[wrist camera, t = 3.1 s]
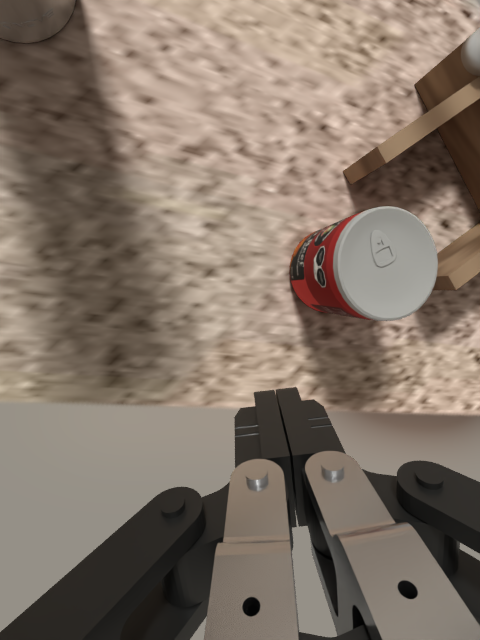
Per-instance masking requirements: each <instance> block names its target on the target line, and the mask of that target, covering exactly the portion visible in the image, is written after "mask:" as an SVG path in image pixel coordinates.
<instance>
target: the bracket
mask: <svg viewBox="0 0 480 640" xmlns="http://www.w3.org/2000/svg"><path fill="white" fill-rule="evenodd" d="M415 87H416V89H417V91H418V93H419V94H420V96H421V98H422V100H423V102H424V104H425V106H426V108H427V110H428V112H427V113H425V114H424V115H423V116H421V117H420V118H418V119H417V120H415V121H414V122H412V123H411V124H410V125H408V126H407V127H405V128H404V129H402V130H401V131H399V132H398V133H396V134H395V135H394V136H392V137H391V138H389V139H388V140H386V141H385V142H383V143H382V144H380V145H379V146H378V147H376V148H375V149H373V150H372V151H371V152H369V153H368V154H366V155H365V156H364V157H362V158H361V159H359V160H358V161H357V162H355V163H354V164H352V165H351V166H350V167H348V168H347V169H345V170H344V171H343V172H344V174H345V176H346V178H347V179H348V181H349V183H350V185H351V184H353V183H355V182H356V181H358V180H359V179H361V178H363V177H364V176H366V175H368V174H369V173H371V172H373V171H374V170H376V169H378V168H379V167H381V166H383V165H384V164H386V163H387V162H389V161H390V160H392V159H393V158H395V157H396V156H397V155H399V154H400V153H402V152H403V151H405V150H406V149H407V148H409V147H410V146H412V145H413V144H415V143H416V142H418V141H419V140H420V139H422V138H423V137H425V136H426V135H428V134H429V133H430V132H432V131H433V130H435V129H436V128H437V129H438V131H439V133H440V135H441V137H442V139H443V141H444V143H445V145H446V147H447V149H448V151H449V153H450V155H451V157H452V159H453V161H454V162H455V164H456V166H457V168H458V170H459V172H460V174H461V176H462V178H463V180H464V182H465V184H466V186H467V188H468V190H469V192H470V194H471V196H472V197H473V199H474V201H475V203H476V205H477V207H478V209H479V211H480V28H479V29H478V30H476V31H475V32H474V33H473V34H472V35H471V36H469V37H468V38H467V39H466V40H465V42H463V43H462V44H461V45H460V46H458V47H457V48H456V49H455V50H454V51H453V52H452V53H450V54H449V55H448V56H447V57H446V58H445V59H443V60H442V61H441V62H440V63H439V64H438V65H437V66H435V67H434V68H433V69H432V70H431V71H430V72H428V73H427V74H426V75H425V76H424V77H423V78H422V79H420V80H419V81H418V82H417V83H416V84H415ZM437 258H438V270H437V277H436V281H435V285H434V287H433V289H432V290H457V289H458V288H460V287H461V286H462V285H464V284H465V283H466V282H468V281H469V280H470V279H472V278H473V277H474V276H475V275H477V274H478V273H479V272H480V223H478V224H477V225H475V226H474V227H473V228H471V229H470V230H469V231H467V232H466V233H465V234H463V235H462V236H461V237H459V238H458V239H457V240H455V241H454V242H453V243H451V244H450V245H448V246H447V247H446V248H444V249H443V250H442V251H440V252H439V253H438V254H437Z"/></svg>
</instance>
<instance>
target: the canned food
mask: <svg viewBox="0 0 480 640" xmlns="http://www.w3.org/2000/svg"><path fill="white" fill-rule="evenodd" d="M437 270H438V258H437V250H436V247H435V243H434V240H433V238H432V236H431V234H430V232H429V230H428V229H427V228H426V226H425V225H424V224H423V222H422V221H420V220H419V219H418V218H417V217H416V216H415V215H413V214H412V213H410V212H408V211H407V210H404V209H401V208H398V207H391V206H383V207H376V208H371V209H369V210H366V211H363V212H361V213H358V214H355V215H353V216H350V217H348V218H346V219H344V220H341V221H339V222H337V223H334V224H332V225H330V226H327V227H325V228H323V229H321V230H318V231H316V232H314V233H311V234H310V235H308V236H307V237H305V238H304V239H303V240H302V241H301V242H300V243H299V244H298V246H297V247H296V249H295V251H294V253H293V255H292V258H291V263H290V279H291V283H292V286H293V289H294V290H295V292H296V294H297V296H298V297H299V298H300V299H301V300H302V302H304V303H305V304H306V305H307V306H309V307H310V308H312V309H314V310H317V311H321V312H326V313H332V314H338V315H344V316H350V317H356V318H362V319H368V320H376V321H393V320H398V319H402V318H404V317H407V316H409V315H411V314H412V313H414V312H415V311H417V310H418V309H419V308H420V307H421V306H422V305H423V304H424V303H425V302H426V300H427V299H428V297H429V296H430V294H431V292H432V289H433V287H434V285H435V281H436V277H437Z"/></svg>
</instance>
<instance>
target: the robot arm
mask: <svg viewBox="0 0 480 640" xmlns="http://www.w3.org/2000/svg"><path fill="white" fill-rule="evenodd" d="M75 2H76V0H0V38H1V39H5V40H8V41H12V42H20V43H30V42H38V41H41V40H44V39H47V38H49V37H51V36H53V35H54V34H56V33H57V32H59V31H60V30H61V29H62V28H63V27H64V25H65V24H66V23H67V22H68V20H69V18H70V16H71V15H72V13H73V10H74V6H75ZM254 397H255V405H256V406H255V407H246V408H240V410H239V411H238V413H237V415H236V416H235V469H234V471H233V472H232V474H231V478H230V482H229V483H228V484H227V485H226V486H225V487H223V488H222V489H220V490H219V491H217V492H214V493H212V494H209V495H207V496H204V497H202V498H201V496H200V494H199V493H198V492H197V491H195V490H194V489H191V488H188V487H176V488H171V489H168V490H166V491H164V492H162V493H160V494H159V495H157V496H156V497H155V498H153V500H151V501H150V502H149V503H148V504H147V505H146V506H144V507H143V508H142V509H141V510H140V511H139V512H138V513H136V514H135V515H134V516H133V517H132V518H131V519H129V520H128V521H127V522H126V523H125V524H124V525H123V526H121V527H120V528H119V529H118V530H117V531H116V532H115V533H113V534H112V535H111V536H110V537H109V538H108V539H106V540H105V541H104V542H103V543H102V544H101V545H100V546H98V547H97V548H96V549H95V550H94V551H93V552H92V553H90V554H89V555H88V556H87V557H86V558H85V559H84V560H82V561H81V562H80V563H79V564H78V565H77V566H76V567H75V568H73V569H72V570H71V571H70V572H69V573H68V574H67V575H65V576H64V577H63V578H62V579H61V580H60V581H58V582H57V583H56V584H55V585H54V586H53V587H52V588H50V589H49V590H48V591H47V592H46V593H45V594H44V595H42V596H41V597H40V598H39V599H38V600H37V601H36V602H35V603H33V604H32V605H31V606H30V607H29V608H28V609H26V610H25V611H24V612H23V613H22V614H21V615H20V616H18V617H17V618H16V619H15V620H14V621H13V622H12V623H10V624H9V625H8V626H7V627H6V628H5V629H3V630H2V631H1V632H0V640H190V638H191V637H192V636H193V634H194V633H195V631H196V630H197V629H198V627H199V626H200V624H201V623H202V622H203V620H204V619H205V617H206V616H207V620H206V628H205V636H204V640H480V561H479V560H477V559H476V558H474V557H472V556H470V555H469V554H467V553H465V552H464V551H462V550H460V549H459V547H460V543H462V544H464V545H466V546H468V547H469V548H471V549H473V550H474V551H476V552H478V553H480V482H478V481H476V480H473V479H471V478H468V477H467V476H464V475H462V474H460V473H458V472H455V471H453V470H451V469H448V468H446V467H444V466H442V465H439V464H436V463H433V462H428V461H412V462H408V463H405V464H403V465H402V466H401V467H400V468H399V469H398V472H397V476H391V475H382V474H376V473H371V472H368V471H365V470H363V469H361V467H360V465H359V464H358V463H357V461H356V460H355V459H354V458H352V457H351V456H349V455H347V454H346V453H345V451H344V449H343V447H342V445H341V443H340V441H339V438H338V436H337V434H336V432H335V430H334V428H333V426H332V424H331V421H330V419H329V418H328V415H327V413H326V411H325V409H324V407H323V406H322V405H320V404H319V403H318V402H316V401H315V400H305V401H301V398H300V395H299V392H298V390H297V388H296V387H293V388H285V389H276V395H275V391H274V390H269V391H260V392H254ZM295 510H296V515H297V519H298V524H299V526H308V528H309V533H310V538H311V550H312V556H313V559H314V562H315V565H316V568H317V571H318V574H319V577H320V581H321V584H322V587H323V590H324V593H325V596H326V600H327V603H328V606H329V609H330V612H331V615H332V619H333V622H334V625H335V628H336V632H337V637H332V638H328V637H322V636H317V635H312V634H306V633H301V632H299V625H298V614H297V604H296V592H295V581H294V572H293V560H292V549H293V536H292V527H296V516H295Z"/></svg>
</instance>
